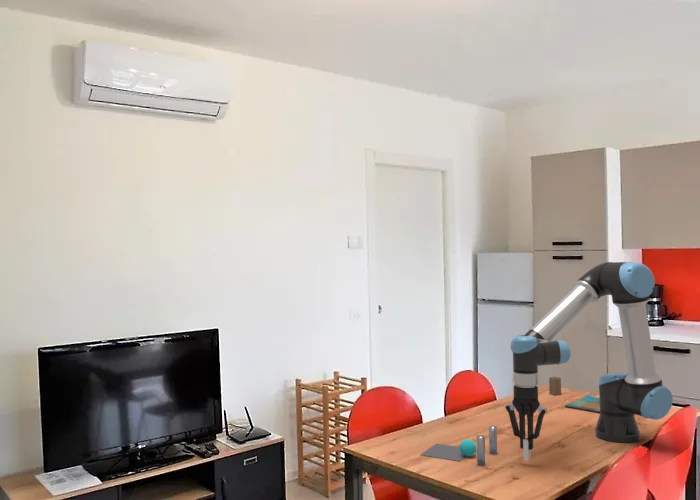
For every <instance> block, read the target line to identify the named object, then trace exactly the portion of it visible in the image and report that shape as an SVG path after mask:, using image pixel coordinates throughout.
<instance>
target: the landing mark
mask: <svg viewBox="0 0 700 500" xmlns="http://www.w3.org/2000/svg"><path fill="white" fill-rule="evenodd" d="M419 455H420V456H421V457H422V456H424V457H429V458H435V459H441V460H447V461H453V462H458V463H459V462H462V461H463V460H464V459H465V458H466V457H467V456H465V455H463V454H462V453H461V451H460V446H455V445H449V444H442V443H435V444H433V445H432V446H431V447H429V448H428V449H426V450H425V451H423V452H422V453H420V454H419Z"/></svg>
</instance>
